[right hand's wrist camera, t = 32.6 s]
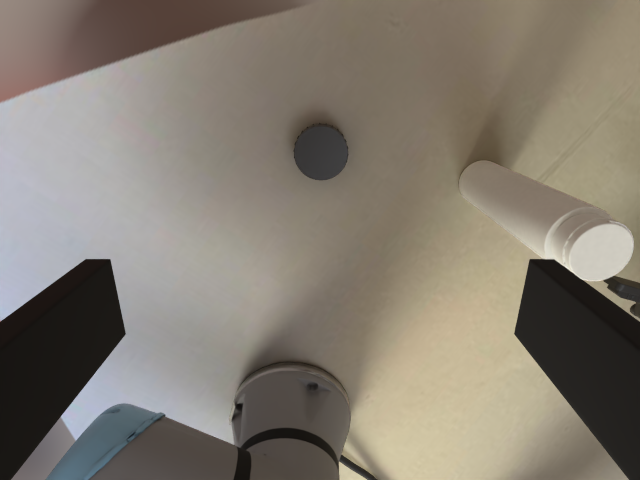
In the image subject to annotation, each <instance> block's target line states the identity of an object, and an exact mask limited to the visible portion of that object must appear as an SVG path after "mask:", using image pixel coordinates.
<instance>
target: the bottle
mask: <svg viewBox="0 0 640 480" xmlns="http://www.w3.org/2000/svg"><path fill="white" fill-rule="evenodd" d="M459 190H460V193H461V195H462V196H463V197H464V198H465V199H466V200H467V201H469V202H470V203H471V204H472V205H474V206H475V207H476V208H478V209H479V210H480V211H482V212H483V213H484V214H485V215H487V216H488V217H489V218H491V219H492V220H493V221H495V222H496V223H497V224H499V225H500V226H501V227H502V228H504V229H505V230H506V231H508V232H509V233H510V234H512V235H513V236H514V237H515V238H517V239H518V240H519V241H521V242H522V243H523V244H525V245H526V246H527V247H529V248H530V249H531V250H532V251H534V252H535V253H536V254H538V255H539V256H540V257H542V258H543V259H555V260H556V261H557V262H559V263H560V264H561V265H563V266H564V267H565V268H567V269H568V270H570V271H571V272H572V273H574V274H575V275H576V276H578V277H579V278H581V279H583V280H587V281H601V280H605V279H608V278H610V277H612V276H614V275H616V274H617V273H618V272H620V271H621V270H622V269H623V268H624V267H625V266H626V265H627V263H628V262H629V260H630V259H631V256H632V254H633V250H634V241H633V235H632V233H631V231H630V230H629V229H628V228H627V227H626V226H625V225H623V224H621V223H620V222H617V221H615V220H613V218H612V217H611V216H610V215H609V214H608V213H607V212H606V211H604V210H602V209H600V208H598V207H595V206H593V205H591V204H588V203H586V202H584V201H581V200H579V199H577V198H574V197H572V196H570V195H567V194H565V193H563V192H560V191H558V190H556V189H554V188H551V187H549V186H547V185H544V184H542V183H540V182H537V181H535V180H533V179H530V178H528V177H526V176H523V175H521V174H519V173H517V172H514V171H512V170H510V169H507V168H505V167H503V166H500V165H498V164H496V163H493V162H491V161H487V160H481V161H476V162H474V163H472V164H470V165H469V166H468V167H467V168H466V169H465V170H464V171H463V172H462V174H461V176H460V179H459Z"/></svg>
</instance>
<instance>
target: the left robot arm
mask: <svg viewBox="0 0 640 480" xmlns="http://www.w3.org/2000/svg"><path fill="white" fill-rule="evenodd" d="M604 282H606V283H607V284H609V285H608V287H607V288H608V289H609V290H610V291H612V292H613V293H615V294H616V295H618V296H619V297H621V298H624V299H628V300H632V301H635V302H636V304H634V305H632V306H631V308H630V312H631V313H632V314H634V315H635V316H637V317H639V318H640V283H638V282H634V281H631V280H627V279H623V278H620V277H616V276H612V277H610V278H608V279H605V280H604Z"/></svg>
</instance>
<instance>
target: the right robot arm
mask: <svg viewBox="0 0 640 480" xmlns="http://www.w3.org/2000/svg"><path fill="white" fill-rule="evenodd" d="M125 334H126V333H125V328H124V323H123V319H122V314H121V309H120V304H119V299H118V294H117V290H116V285H115V280H114V275H113V270H112V265H111V261H110V259H85V260H84V261H83V262H81V263H80V264H79V265H77V266H76V267H75V268H73V269H72V270H70V271H69V272H68V273H66V274H65V275H64V276H62V277H61V278H59V279H58V280H57V281H55V282H54V283H53V284H51V285H50V286H49V287H47V288H46V289H44V290H43V291H42V292H40V293H39V294H38V295H36V296H35V297H34V298H32V299H31V300H29V301H28V302H27V303H25V304H24V305H23V306H21V307H20V308H19V309H17V310H16V311H14V312H13V313H12V314H10V315H9V316H8V317H6V318H5V319H4V320H2V321H1V322H0V480H11V479H12V478H13V476H14V475H15V474H16V473H17V471H18V470H19V469H20V467H21V466H22V465H23V464H24V462H25V461H26V460H27V459H28V457H29V456H30V455H31V454H32V452H33V451H34V450H35V448H36V447H37V446H38V445H39V443H40V442H41V441H42V440H43V438H44V437H45V436H46V434H47V433H48V432H49V431H50V429H51V428H52V427H53V426H54V424H55V423H56V422H57V420H58V419H59V418H60V417H61V415H62V414H63V413H64V412H65V410H66V409H67V408H68V407H69V405H70V404H71V403H72V402H73V400H74V399H75V398H76V396H77V395H78V394H79V393H80V391H81V390H82V389H83V388H84V386H85V385H86V384H87V382H88V381H89V380H90V379H91V377H92V376H93V375H94V374H95V372H96V371H97V370H98V369H99V367H100V366H101V365H102V363H103V362H104V361H105V360H106V358H107V357H108V356H109V355H110V353H111V352H112V351H113V350H114V348H115V347H116V346H117V344H118V343H119V342H120V341H121V339H122V338H123V337H124V336H125ZM514 334H515V336H516V337H517V338H518V339H519V341H520V342H521V343H522V344H523V346H524V347H525V348H526V350H527V351H528V352H529V353H530V355H531V356H532V357H533V358H534V360H535V361H536V362H537V363H538V365H539V366H540V367H541V369H542V370H543V371H544V372H545V374H546V375H547V376H548V377H549V379H550V380H551V381H552V382H553V384H554V385H555V386H556V388H557V389H558V390H559V391H560V393H561V394H562V395H563V396H564V398H565V399H566V400H567V402H568V403H569V404H570V405H571V407H572V408H573V409H574V410H575V412H576V413H577V414H578V415H579V417H580V418H581V419H582V421H583V422H584V423H585V424H586V426H587V427H588V428H589V429H590V431H591V432H592V433H593V434H594V436H595V437H596V438H597V440H598V441H599V442H600V443H601V445H602V446H603V447H604V448H605V450H606V451H607V452H608V454H609V455H610V456H611V457H612V459H613V460H614V461H615V462H616V464H617V465H618V466H619V467H620V469H621V470H622V471H623V473H624V474H625V475H626V476H627V478H628V479H629V480H640V322H639V321H638V320H636V319H635V318H634V317H632V316H631V315H630V314H628V313H627V312H626V311H624V310H623V309H621V308H620V307H619V306H617V305H616V304H615V303H613V302H612V301H611V300H609V299H608V298H606V297H605V296H604V295H602V294H601V293H600V292H598V291H597V290H596V289H594V288H593V287H591V286H590V285H589V284H587V283H586V282H585V281H583V280H582V279H581V278H579V277H578V276H576V275H575V274H574V273H572V272H571V271H570V270H568V269H567V268H565V267H564V266H563V265H561V264H560V263H559V262H557V261H556V260H555V259H530V261H529V265H528V270H527V275H526V280H525V285H524V290H523V294H522V299H521V304H520V309H519V314H518V319H517V323H516V328H515V333H514ZM350 419H351V415H350V405H349V399H348V396H347V394H346V392H345V390H344V388H343V387H342V385H341V384H340V383H339V382H338V381H337V380H336V379H335V378H334V377H333V376H332V375H330V374H329V373H327V372H325V371H324V370H322V369H320V368H317V367H315V366H312V365H308V364H303V363H295V362H286V363H278V364H273V365H269V366H266V367H264V368H261V369H259V370H257V371H256V372H254V373H253V374H251V375H250V376H249V377H248V378H246V379H245V381H244V382H243V383H242V384H241V385H240V387H239V389H238V391H237V393H236V396H235V399H234V403H233V406H232V410H231V413H230V417H229V423H231V422H232V430H233V437H234V444H235V445H233V444H230V443H228V442H225V441H223V440H220V439H218V438H216V437H213V436H211V435H208V434H206V433H203V432H201V431H199V430H196V429H194V428H191V427H189V426H186V425H184V424H182V423H179V422H177V421H174V420H172V419H169V418H167V417H165V414H164V413H154V412H151V411H149V410H146V409H143V408H140V407H137V406H134V405H131V404H118V405H115V406H112V407H110V408H109V409H107V410H106V411H104V412H103V413H102V414H101V415H100V416H98V417H97V418H96V419H95V420H94V421H93V422H92V424H91V425H90V426H89V427H88V428H87V429H86V430H85V431H84V432H83V433H82V435H81V436H80V437H79V438H78V439H77V441H76V442H75V443H74V444H73V445H72V446H71V448H70V449H69V450H68V451H67V453H66V454H65V455H64V456H63V458H62V459H61V460H60V461H59V463H58V464H57V465H56V467H55V468H54V469H53V470H52V472H51V473H50V474H49V476H48V477H47V479H46V480H339V461H340V462H341V463H343V464H344V465H345V466H347V467H348V468H350V469H351V470H353V471H355V472H356V473H358V474H360V475H361V476H363V477H364V478H366V479H367V480H377V479H376V478H375V477H374V476H372V475H371V474H370V473H369V472H367V471H366V470H364V469H362V468H361V467H359V466H358V465H356V464H354V463H353V462H351V461H350V460H349V459H347V458H346V457H344V456H343V455H341V453H342V450H343V447H344V444H345V441H346V438H347V434H348V431H349V427H350Z"/></svg>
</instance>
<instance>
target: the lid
mask: <svg viewBox="0 0 640 480" xmlns="http://www.w3.org/2000/svg"><path fill="white" fill-rule="evenodd" d="M297 139H298V140H297V142H296V143H295V149H294V158H295V161H296V164H297V166H298V168H299V169H300V170H301V172H302V173H303V174H305V175H306V176H308V177H309V178H312V179H315V180H327V179H330V178H333V177H334V176H336V175H337V174H339V173H340V172H341V171H342V169H343V168H344V166H345V164H346V162H347V158H348V147H347V144H346V140H345V139H344V138H343V134H341V133H340V132H339V130H338V129H336V128H334V127H333V126H330V125H327V124H320V123H319V124H316V125H314V124H313V125H312V126H310V127H307V129H305V130H304V131H302V133H301V135H300V136H298V138H297Z"/></svg>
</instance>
